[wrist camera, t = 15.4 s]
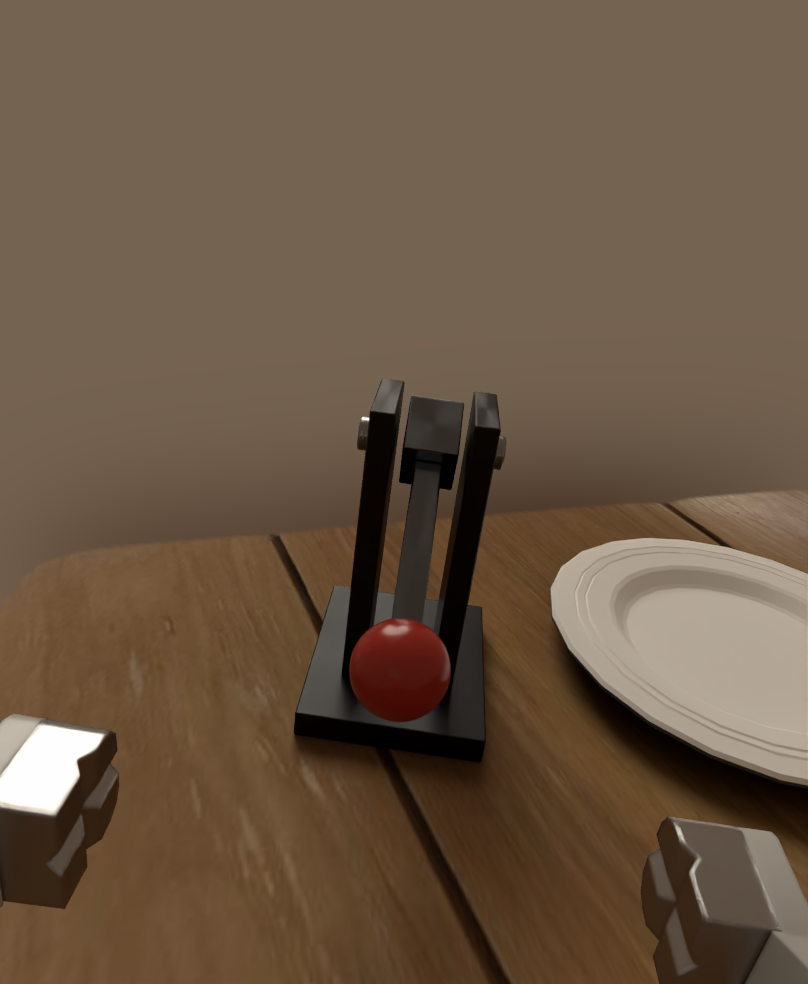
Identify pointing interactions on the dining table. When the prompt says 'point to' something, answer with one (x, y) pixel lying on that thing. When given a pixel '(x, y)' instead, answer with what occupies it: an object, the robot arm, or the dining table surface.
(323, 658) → the switch bracket
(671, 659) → the plate
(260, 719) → the dining table surface
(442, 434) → the lever
